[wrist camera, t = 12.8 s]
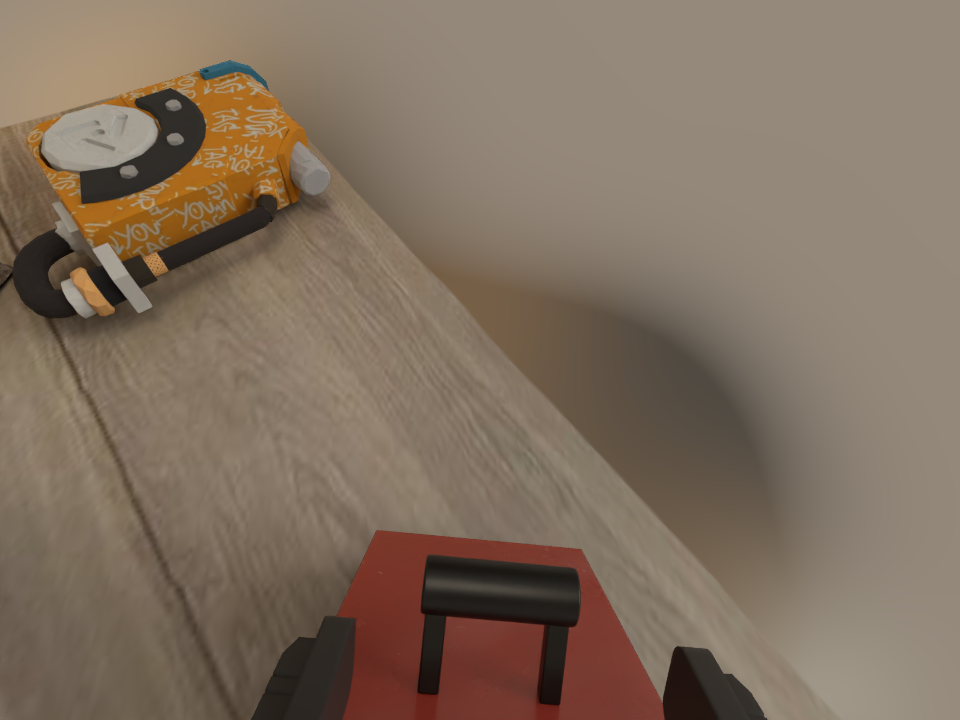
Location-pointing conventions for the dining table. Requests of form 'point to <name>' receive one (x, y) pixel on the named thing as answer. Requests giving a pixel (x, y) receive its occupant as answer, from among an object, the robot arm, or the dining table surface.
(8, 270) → the food
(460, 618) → the lid
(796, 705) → the dining table surface
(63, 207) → the device
